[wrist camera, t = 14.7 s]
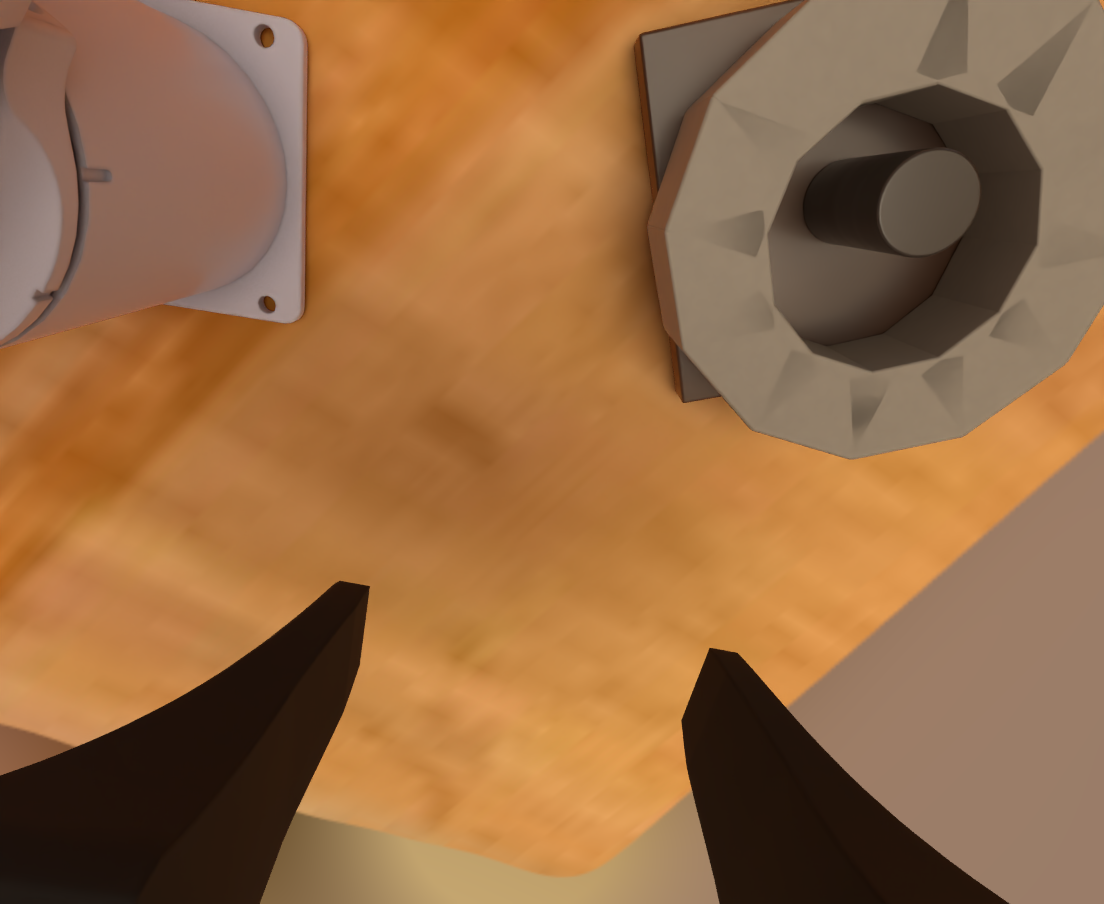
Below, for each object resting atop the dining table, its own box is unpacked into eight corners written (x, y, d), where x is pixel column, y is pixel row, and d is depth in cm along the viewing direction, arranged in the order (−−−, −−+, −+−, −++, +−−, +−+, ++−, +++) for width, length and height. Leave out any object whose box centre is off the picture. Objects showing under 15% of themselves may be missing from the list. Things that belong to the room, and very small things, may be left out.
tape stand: (675, 393, 21) (716, 457, 16) (633, 43, 17) (667, -22, 12) (988, 336, 20) (1138, 384, 15) (1016, -42, 16) (1229, -151, 11)
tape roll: (572, 223, 18) (575, 228, 15) (919, -119, 15) (1004, -192, 12) (797, 483, 21) (836, 528, 18) (1121, 242, 18) (1227, 251, 15)
